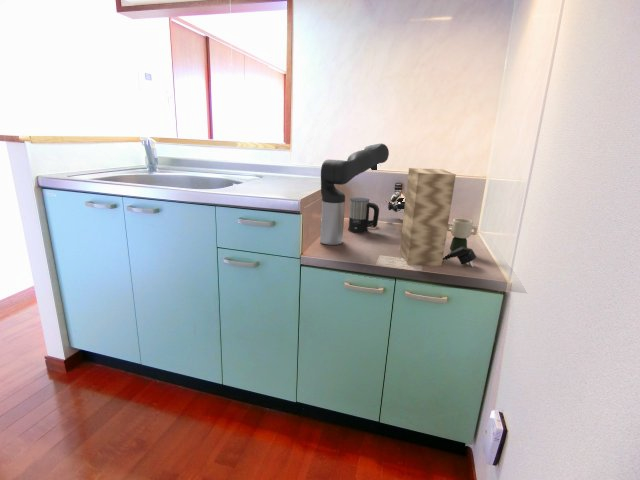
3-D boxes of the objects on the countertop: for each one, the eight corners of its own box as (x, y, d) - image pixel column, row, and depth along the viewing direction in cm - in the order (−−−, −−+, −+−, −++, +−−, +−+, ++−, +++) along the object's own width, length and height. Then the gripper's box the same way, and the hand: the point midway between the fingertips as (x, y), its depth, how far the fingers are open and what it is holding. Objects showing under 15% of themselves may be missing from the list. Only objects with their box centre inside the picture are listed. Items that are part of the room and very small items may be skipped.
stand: (407, 264, 122) (418, 173, 112) (399, 250, 136) (408, 168, 126) (441, 266, 122) (455, 174, 112) (430, 251, 136) (442, 169, 126)
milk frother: (347, 232, 157) (349, 200, 153) (346, 223, 172) (348, 194, 168) (379, 234, 157) (382, 201, 152) (375, 224, 172) (378, 195, 167)
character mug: (473, 251, 137) (478, 220, 133) (472, 257, 131) (478, 224, 127) (444, 247, 142) (449, 216, 138) (442, 252, 136) (447, 220, 132)
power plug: (437, 256, 128) (468, 242, 124) (447, 273, 129) (478, 259, 124) (437, 261, 123) (470, 246, 118) (448, 279, 124) (480, 265, 119)
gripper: (386, 195, 173) (391, 201, 157) (415, 196, 172) (422, 202, 157) (385, 209, 175) (389, 217, 160) (413, 210, 175) (420, 218, 159)
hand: (405, 210), depth 158 cm, fingers open, 8 cm apart
